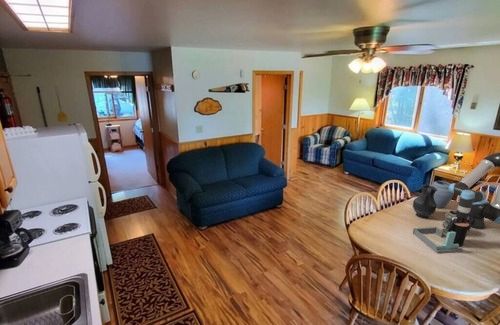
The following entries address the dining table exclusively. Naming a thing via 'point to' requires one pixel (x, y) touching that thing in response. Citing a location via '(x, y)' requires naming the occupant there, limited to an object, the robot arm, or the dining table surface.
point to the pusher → (449, 242)
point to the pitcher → (425, 202)
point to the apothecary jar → (448, 219)
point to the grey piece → (419, 233)
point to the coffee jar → (460, 232)
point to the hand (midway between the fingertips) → (455, 237)
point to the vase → (442, 193)
